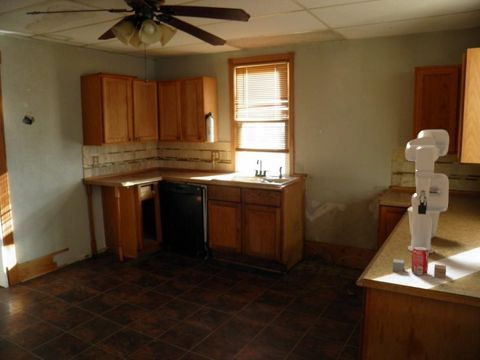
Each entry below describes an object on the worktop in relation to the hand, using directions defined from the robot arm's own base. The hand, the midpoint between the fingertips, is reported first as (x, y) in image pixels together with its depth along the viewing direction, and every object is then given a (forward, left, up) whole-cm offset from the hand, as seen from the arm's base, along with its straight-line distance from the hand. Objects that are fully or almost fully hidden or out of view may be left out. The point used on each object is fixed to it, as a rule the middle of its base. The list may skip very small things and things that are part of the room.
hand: (422, 211), depth 181 cm
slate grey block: (0, -9, -29) cm, 30 cm away
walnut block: (0, +8, -29) cm, 30 cm away
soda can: (0, 0, -29) cm, 29 cm away
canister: (-65, -1, -29) cm, 71 cm away
